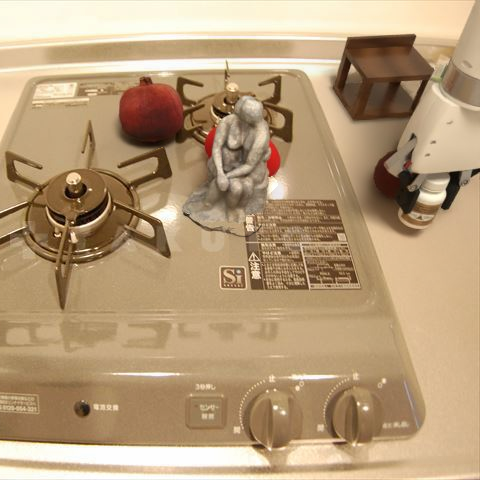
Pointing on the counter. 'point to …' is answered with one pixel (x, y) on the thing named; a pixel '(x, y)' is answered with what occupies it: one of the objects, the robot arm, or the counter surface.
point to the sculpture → (234, 169)
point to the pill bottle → (427, 201)
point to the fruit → (150, 111)
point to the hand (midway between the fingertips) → (421, 203)
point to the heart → (272, 162)
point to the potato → (386, 177)
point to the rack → (381, 76)
